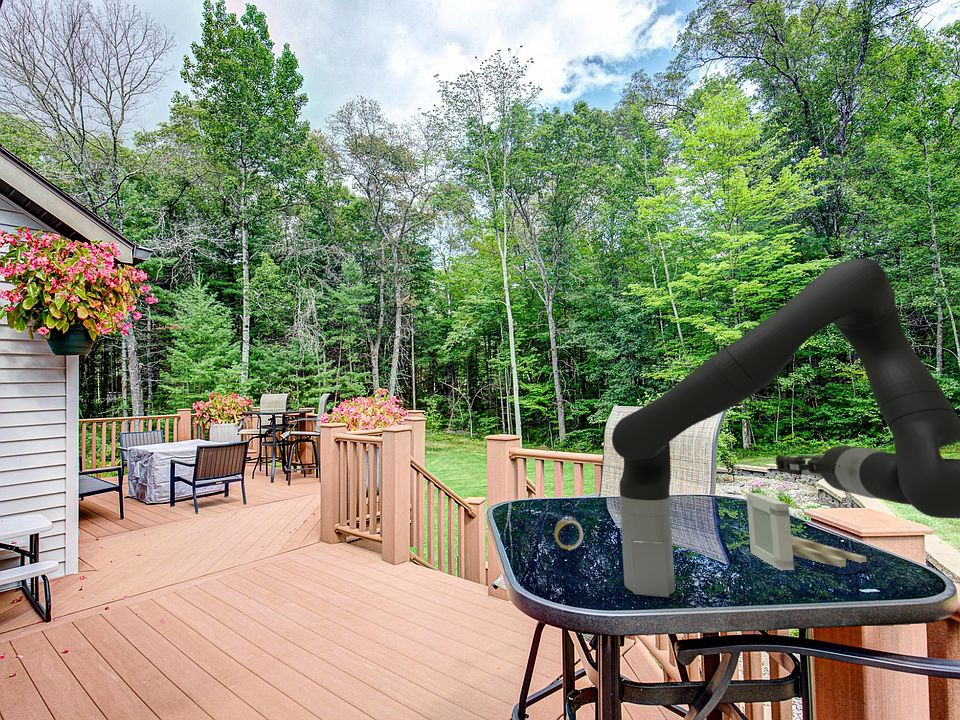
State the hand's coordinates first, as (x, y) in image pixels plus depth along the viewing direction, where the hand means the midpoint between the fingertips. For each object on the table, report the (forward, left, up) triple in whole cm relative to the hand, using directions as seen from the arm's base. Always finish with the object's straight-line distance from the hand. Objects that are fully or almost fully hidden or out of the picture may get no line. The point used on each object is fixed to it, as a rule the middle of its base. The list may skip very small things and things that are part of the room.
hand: (801, 460), depth 89 cm
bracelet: (+15, +47, -24) cm, 55 cm away
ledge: (+20, -6, -24) cm, 32 cm away
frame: (+15, +3, -24) cm, 28 cm away
